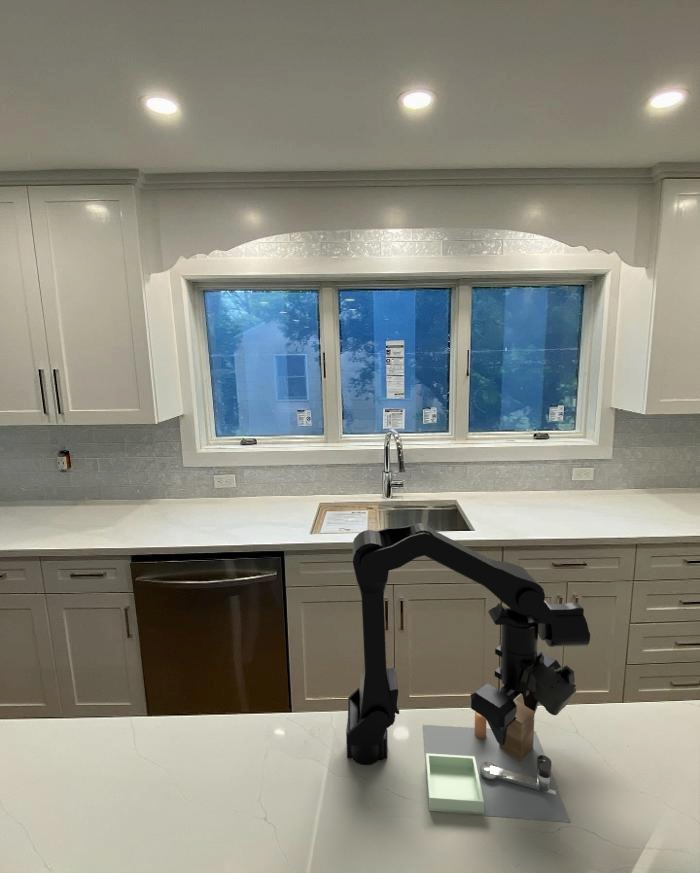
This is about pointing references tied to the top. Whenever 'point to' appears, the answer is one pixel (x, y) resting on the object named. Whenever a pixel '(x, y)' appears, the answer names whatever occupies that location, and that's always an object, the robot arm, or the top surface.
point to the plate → (485, 748)
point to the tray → (454, 784)
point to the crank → (539, 783)
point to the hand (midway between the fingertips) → (516, 729)
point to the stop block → (520, 733)
